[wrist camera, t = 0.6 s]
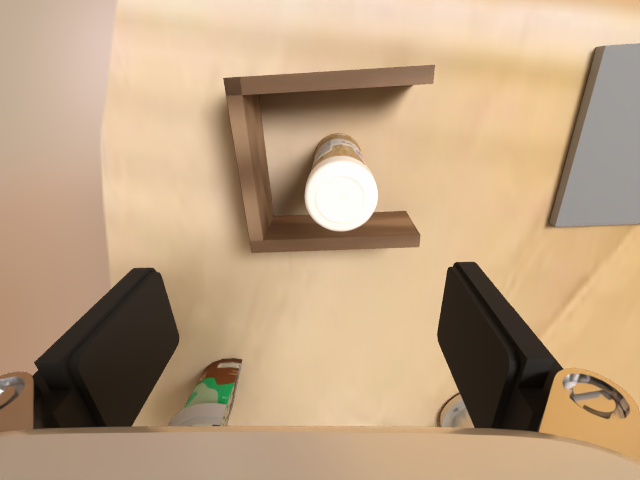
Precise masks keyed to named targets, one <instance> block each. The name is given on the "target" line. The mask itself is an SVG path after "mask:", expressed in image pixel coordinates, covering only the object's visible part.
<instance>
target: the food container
mask: <svg viewBox="0 0 640 480" xmlns="http://www.w3.org/2000/svg"><path fill="white" fill-rule="evenodd" d="M241 364H242V359H235V358H231V359H221V360H218V361H215V362H213V363H212V364H210V365H209V366H208V367H206V369H205V371H204V372H203V374H202V376H201V378H200V380H199V382H198V383H197V385H196V387H195V389H194V391H193V392H192V394H191V396H190V398H189V400H188V402H187V403H186V405H185V407H184V409H183V410H181V411H179V412H178V413H177V414H175V416H174V417H173V418H172V419H171V421H170V423H169V426H227V423H228V420H229V417H230V413H231V410H232V407H233V403H234V398H235V393H236V388H237V383H238V379H239V374H240V369H241Z"/></svg>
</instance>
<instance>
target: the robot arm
mask: <svg viewBox="0 0 640 480" xmlns="http://www.w3.org/2000/svg"><path fill="white" fill-rule="evenodd" d="M437 337H438V342H439V345H440V347H441V350H442V352H443V354H444V357H445V359H446V362H447V364H448V366H449V369H450V371H451V373H452V376H453V378H454V380H455V383H456V385H457V388H458V390H459V392H460V394H459V395H457V396H455V397H454V398H453V399H452V400H450V401H449V402H448V403H447V404H446V406H445V407H444V409H443V410H442V412H441V415H440V425H441V427H366V426H165V427H131V426H132V424H133V423H134V421H135V419H136V417H137V416H138V414H139V412H140V410H141V409H142V407H143V405H144V403H145V402H146V400H147V398H148V396H149V395H150V393H151V391H152V390H153V388H154V386H155V384H156V383H157V381H158V379H159V377H160V376H161V374H162V372H163V370H164V369H165V367H166V365H167V363H168V362H169V360H170V358H171V356H172V355H173V353H174V351H175V349H176V348H177V346H178V343H179V333H178V330H177V327H176V323H175V320H174V316H173V313H172V310H171V306H170V303H169V299H168V296H167V293H166V289H165V286H164V282H163V279H162V276H161V274H160V273H159V272H156V270H155V269H154V268H134V269H132V270H131V271H130V272H129V273H128V274H127V275H126V276H124V277H123V278H122V279H121V280H120V281H119V282H118V283H117V284H116V285H115V286H114V287H113V288H112V289H111V290H110V291H109V292H108V293H107V294H106V295H105V296H103V297H102V299H100V300H99V301H98V302H97V303H96V304H95V305H94V306H93V307H92V308H91V309H90V310H89V311H88V312H87V313H86V314H85V315H84V316H82V317H81V318H80V319H79V320H78V321H77V322H76V323H75V324H74V325H73V326H72V327H71V328H70V329H69V330H68V331H67V332H66V333H65V334H64V335H63V336H61V338H60V339H58V340H57V341H56V342H55V343H54V344H53V345H52V346H51V347H50V348H49V349H48V350H47V351H46V352H45V353H44V354H43V355H42V356H41V357H39V358H38V360H36V361H35V362H34V363H35V365H36V366H37V368H38V371H37V372H36V373H35V374H34V375H33V376H32V375H31V374H29V373H27V372H13V373H8V374H5V375H2V376H0V480H640V412H639V408H638V405H637V404H636V403H635V401H634V400H633V398H632V397H631V396H630V395H629V394H628V393H627V392H626V391H625V390H624V389H623V388H621V387H620V386H618V385H617V384H615V383H614V382H613V381H611V380H609V379H607V378H605V377H603V376H601V375H599V374H597V373H594V372H591V371H588V370H583V369H577V368H569V369H563V368H562V367H561V365H560V364H559V363H558V362H557V361H556V359H555V358H554V357H553V356H552V355H551V353H550V352H549V351H548V350H547V348H546V347H545V346H544V345H543V344H542V342H541V341H540V340H539V339H538V337H537V336H536V335H535V334H534V333H533V331H532V330H531V329H530V328H529V326H528V325H527V324H526V323H525V322H524V320H523V319H522V318H521V317H520V315H519V314H518V313H517V312H516V311H515V309H514V308H513V307H512V306H511V305H510V304H509V303H508V301H507V300H506V299H505V298H504V297H503V295H502V294H501V293H500V292H499V290H498V289H497V288H496V287H495V286H494V284H493V283H492V282H491V281H490V279H489V278H488V277H487V276H486V274H485V273H484V272H483V271H482V270H481V268H480V267H479V266H478V265H477V264H476V263H475V262H456V263H454V265H453V267H449V268H448V270H447V276H446V282H445V288H444V295H443V301H442V307H441V313H440V319H439V326H438V333H437Z"/></svg>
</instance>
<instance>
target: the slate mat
mask: <svg viewBox="0 0 640 480" xmlns="http://www.w3.org/2000/svg"><path fill="white" fill-rule="evenodd" d="M549 224H551V225H553V226H554V227H569V226H596V225H623V224H640V44H625V45H609V46H600V47H596V51H595V54H594V58H593V62H592V66H591V69H590V73H589V77H588V80H587V84H586V88H585V92H584V95H583V99H582V103H581V107H580V110H579V114H578V118H577V121H576V125H575V129H574V133H573V136H572V140H571V144H570V147H569V151H568V155H567V159H566V162H565V166H564V170H563V173H562V177H561V181H560V185H559V188H558V192H557V196H556V200H555V203H554V207H553V211H552V214H551V218H550V222H549Z"/></svg>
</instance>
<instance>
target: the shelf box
mask: <svg viewBox="0 0 640 480" xmlns="http://www.w3.org/2000/svg"><path fill="white" fill-rule="evenodd" d="M434 69H435V65H425V66H409V67H393V68H377V69H361V70H345V71H329V72H313V73H297V74H281V75H265V76H249V77H233V78H223V79H224V85H225V91H226V97H227V104H228V110H229V116H230V122H231V128H232V134H233V140H234V146H235V153H236V159H237V165H238V171H239V177H240V183H241V189H242V196H243V202H244V208H245V214H246V220H247V226H248V232H249V238H250V245H251V251H252V253H259V252H288V251H318V250H347V249H376V248H405V247H419V243H420V234H419V232H418V230H417V229H416V227H415V225H414V224H413V222H412V220H411V219H410V217H409V215H408V214H407V212H406V211H397V212H373V214H372V215H371V217H370V218H369V219H368V220H367V221H366V222H365V223H364V224H362V225H361V226H359V227H357V228H355V229H352V230H349V231H332V230H329V229H326V228H324V227H322V226H320V225H319V224H318V223H316V222H315V221H314V220H313V219H312V217H311V216H310V215H297V216H274V215H273V207H272V199H271V191H270V183H269V175H268V166H267V158H266V150H265V142H264V134H263V126H262V118H261V110H260V102H259V94H269V93H286V92H303V91H320V90H336V89H353V88H370V87H387V86H403V85H420V84H433V80H434Z"/></svg>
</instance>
